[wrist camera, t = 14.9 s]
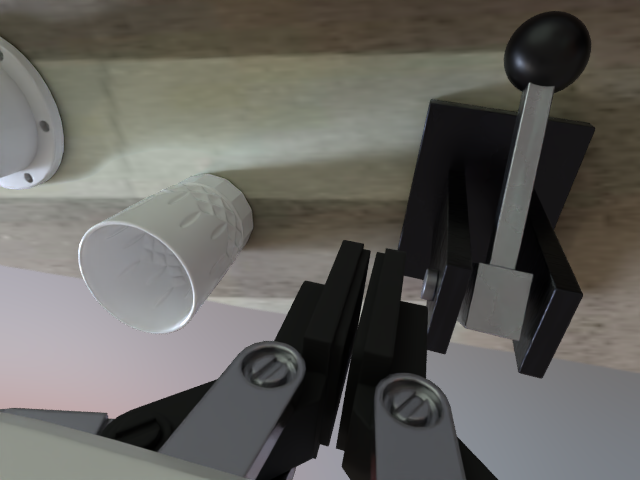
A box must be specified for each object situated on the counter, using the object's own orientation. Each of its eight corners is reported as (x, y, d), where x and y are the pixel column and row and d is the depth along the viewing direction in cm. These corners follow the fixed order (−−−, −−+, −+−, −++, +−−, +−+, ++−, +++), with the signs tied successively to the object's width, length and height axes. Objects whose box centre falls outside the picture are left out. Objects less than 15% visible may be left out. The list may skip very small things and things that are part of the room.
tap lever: (504, 32, 21) (524, -11, 18) (579, 41, 20) (614, -2, 17) (442, 315, 21) (451, 326, 18) (516, 333, 20) (539, 347, 17)
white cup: (243, 158, 31) (166, 213, 23) (273, 253, 35) (214, 333, 26) (155, 173, 34) (55, 228, 25) (189, 260, 37) (112, 335, 29)
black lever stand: (430, 98, 26) (415, 162, 15) (590, 122, 25) (700, 213, 14) (394, 264, 32) (364, 396, 21) (521, 293, 31) (560, 451, 20)
